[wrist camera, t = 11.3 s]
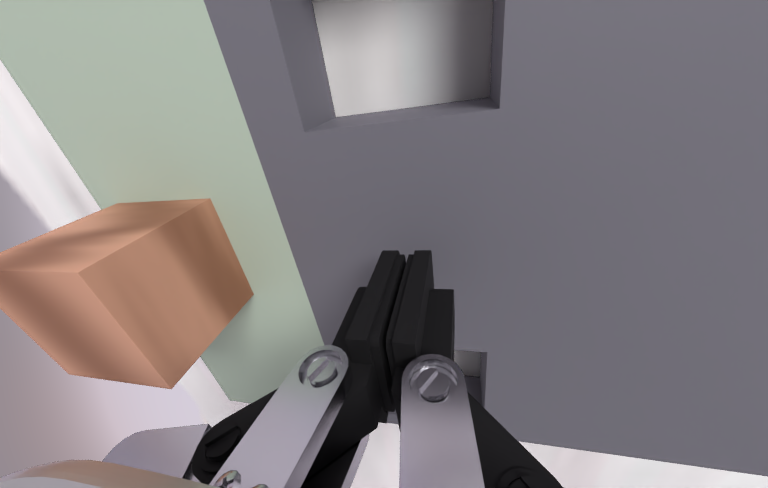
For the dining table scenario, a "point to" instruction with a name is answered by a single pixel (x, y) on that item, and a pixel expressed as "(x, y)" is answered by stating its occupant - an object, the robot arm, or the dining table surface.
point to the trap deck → (461, 197)
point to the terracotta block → (127, 290)
